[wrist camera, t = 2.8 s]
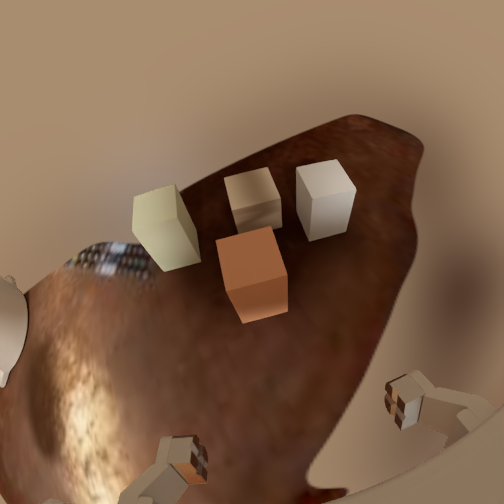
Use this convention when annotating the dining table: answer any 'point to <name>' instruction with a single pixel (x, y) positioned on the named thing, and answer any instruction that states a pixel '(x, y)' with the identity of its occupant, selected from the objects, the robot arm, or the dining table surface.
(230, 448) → the dining table surface
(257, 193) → the off-white cube
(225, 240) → the terracotta block
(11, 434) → the dining table surface
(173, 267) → the sage block
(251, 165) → the dining table surface
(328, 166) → the light grey block
